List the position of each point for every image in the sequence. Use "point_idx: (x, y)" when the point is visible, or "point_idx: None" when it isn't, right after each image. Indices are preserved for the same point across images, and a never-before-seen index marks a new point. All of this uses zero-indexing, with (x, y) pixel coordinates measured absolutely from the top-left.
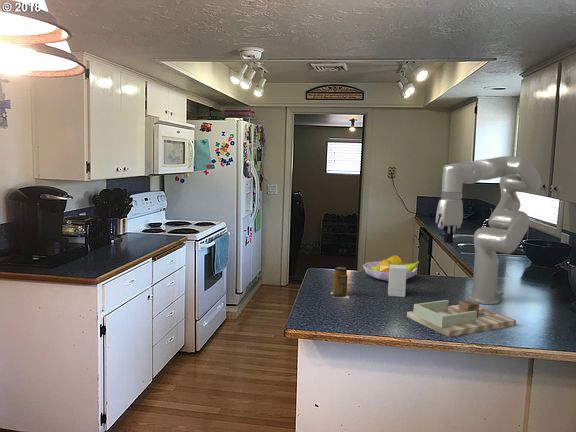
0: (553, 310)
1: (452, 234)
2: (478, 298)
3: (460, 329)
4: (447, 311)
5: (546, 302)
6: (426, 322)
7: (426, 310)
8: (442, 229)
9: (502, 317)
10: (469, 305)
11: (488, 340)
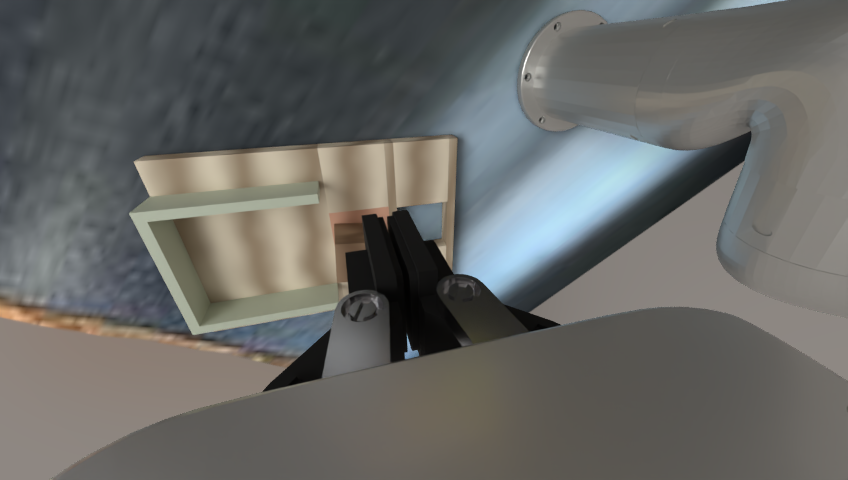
0: (626, 214)
1: (420, 350)
2: (536, 90)
3: (257, 323)
4: None
5: (684, 156)
6: None
7: (163, 274)
8: (288, 376)
9: None
10: (342, 281)
11: (310, 342)
